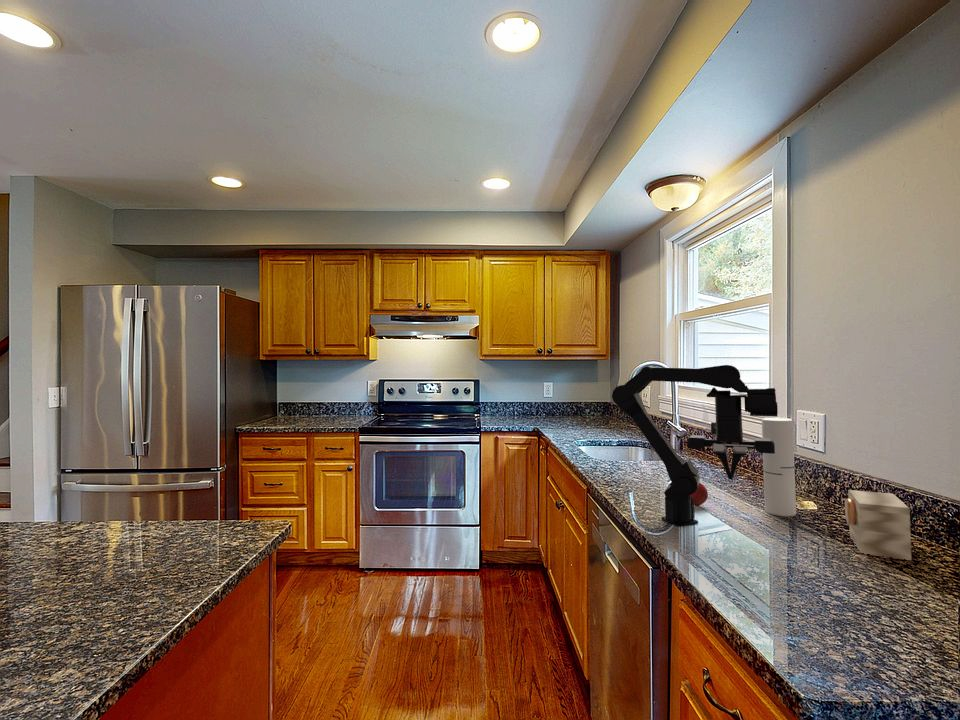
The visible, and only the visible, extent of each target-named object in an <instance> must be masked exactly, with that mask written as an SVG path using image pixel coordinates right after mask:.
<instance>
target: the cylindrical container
mask: <svg viewBox="0 0 960 720" xmlns="http://www.w3.org/2000/svg"><path fill="white" fill-rule="evenodd" d="M761 429H762V430H761V431H762V432H761V434H762V435H761V436H762V437H761V438H766V439H771V440H773V441H774V445H775V453H774V454H769V453H762V461H763V462H762V463H763V464H762V467H763V492H764V494H763V498H764V511H765V512H766V513H768V514H770V515H774V516H778V517H779V516H780V517H795V516H796V515H797V503H796V502H797V499H796V475H795V474H796V472H795V446H794V445H795V442H794V420H793V419H790V418H783V417H781V418H779V417H766V418H765V417H764V418H761Z"/></svg>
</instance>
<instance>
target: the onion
mask: <svg viewBox="0 0 960 720" xmlns="http://www.w3.org/2000/svg"><path fill="white" fill-rule="evenodd" d="M689 496H690V497H693V503H694V506H695V507H697V508H698V507H700V506H701V505H703V504H704V503H705V502H706V501H708V498H709V497H708V496H709V494H708V489H707V488H706V486H705V485H704V484H702V483H701V481H699V485H698V488H697V490H696V491H695V492H694V493H693V494H691V495H689Z"/></svg>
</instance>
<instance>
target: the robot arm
mask: <svg viewBox="0 0 960 720" xmlns="http://www.w3.org/2000/svg"><path fill="white" fill-rule="evenodd" d="M652 382H669V383H670V382H674V383H675V382H676V383H697V384H702V385H708V386H711V387H712V389H710V390H711V391H710V392H708V393H707V394H706V397H707V398H714V405H715V422H711V423H710V434H711V436H715V438H716V439H712V438H711V439H710V438H707V437H706V435H699V434H698V435H694V434H693V435H692V434H691V435H689V437H688V438H687V440H686V441H687V442H686V443H687V444H686V445H687V446H686V447H687V449H688V450H702V449H703V448H704V447H711V448H712V454H713V455H717V456H718V458H719V460H720V462H721V464H722V465H723V466H722V467H723V468H724V471H725V473H726V476H727V478H728V480H733V479H734V475H735V473H736V469H737V467H738V464H739V463H740V460H741V458H743V457H746V456H747V455H748V453H747V451H748V449H750V450H756V451H757V452H758V453H759V454H763V453H769V454H774V453H775V445H774V441H773V440H771V439H766V438H762V437H754V440H744V438H743V437H744V436H743V432H744V431H743V417H742V416H743V415H742V412H743V411H742V398H743V399H744V412H745V413H746V412H747V413H748V414H749V416H750V417H768V418H778V411H779V410H778V401H777V394H776V388H774V387H766V388H749V387H748V384H745V382H744V381H743V380H742V379H741V372H740V371H739V369H738V368H737V367H736V366H734V365H730V364H723V365H715V366H708V367H707V366H706V367H698V368H696V367H695V368H693V367H688V368H687V367H685V368H684V367H654V366H652V365H651V366H650V365H649V366H644V367H642V368H641V369H640V371H639V372H638V373H637V374H635V375H634V376H633V377H631V378H630V379H629V380H627V382H626V383H624V384H621V385H617V386H616V387H615V388H614V389H613V390H612V394H611V399H612V401H613V403H614V404H615V405H616V406H617V407H618V408H619V409H620V410H621V411H622V412H623V413H624V414H626V415H627V416H628V417H630V418H631V419H632V420H633V422H634V423H635V425H636V426H637V427H638V429H639V431H640V432H641V434H643V436H644V438H645V439H646V440H647V441H648V444H650V446H651V448H652V449H653V450H654V451H655V453H656V454H657V455H658V457H659V459H660V460H661V461H662V463H663V465H664V467H665V469H666V470H665V471H666V472H667V475H668V477H669V480H670V483H669V484H668V485H667V486H666V488H665V490H664V516H661V518H660V519H661V520H662V519H663V520H662V521H665V522H667V523H670V524H672V525H675V526H677V527H682V526H689V525H694V524H698V523H699V520H697V519H695V511H694V510H695V507H694V506H695V505H694V503H693V497H690V496H689V495H691V494H693V493H694V492H695V491H696V490H697V488H698V485H699V482H701V481H700V480H701V478H700V475H699V472H700V470H699V469H698V468H696V467H695V466H694V464H693V462H692V460H691V458H690V457H688V458H687V459H685V460H684V459H683V458H682V457H681V456H680V455H679V454H678V453H677V452H676V450H675V449H674V448H673V446H672V445H671V443H670V442H669V441H668V439H667V438H666V437H665V435H664V434H663V432H662V431H661V429H660V427H658V426H657V424H656V423H655V421H654V420H653V418H652V417H651V416H650V414H649V413H648V412H647V410H646V408H645V404H644V401H643V400H642V397H641V395H640V394H641V392H642V391H643V390H645V389H646V388H647V387H648V386H649V385H650V384H651V383H652ZM716 387H717V388H721V389H722V390H719V389H717V388H716ZM723 389H725V390H723ZM726 389H733V390H734V391H736V392H737V393H745V394H731V390H726ZM727 448H728V449H729V448H731V449H732V450H733V451H732V456H731V464H730V463H729V456H728V450H727ZM730 465H731V466H730Z"/></svg>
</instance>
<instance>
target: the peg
mask: <svg viewBox="0 0 960 720" xmlns="http://www.w3.org/2000/svg"><path fill="white" fill-rule="evenodd" d="M844 513H845V515H844V516H845V521H846V524H847V525H848V526H849V525H856V522H857V513H856V505H855V501H854V499H849V498H845V499H844Z"/></svg>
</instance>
